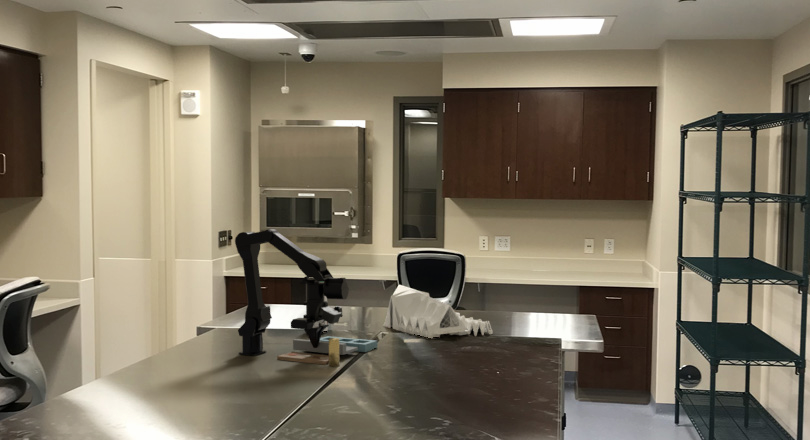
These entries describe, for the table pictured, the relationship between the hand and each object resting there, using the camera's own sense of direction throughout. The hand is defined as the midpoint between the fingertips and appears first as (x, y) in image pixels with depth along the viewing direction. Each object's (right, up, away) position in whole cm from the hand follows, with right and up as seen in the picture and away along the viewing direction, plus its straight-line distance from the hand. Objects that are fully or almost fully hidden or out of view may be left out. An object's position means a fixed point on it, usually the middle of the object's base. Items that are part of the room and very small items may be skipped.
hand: (315, 347), depth 229 cm
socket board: (+8, -3, +16) cm, 18 cm away
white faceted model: (+41, -3, +54) cm, 68 cm away
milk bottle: (-5, -3, +49) cm, 49 cm away
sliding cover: (+3, -2, +5) cm, 6 cm away
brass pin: (+7, -3, -12) cm, 15 cm away
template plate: (-2, -3, -3) cm, 5 cm away
